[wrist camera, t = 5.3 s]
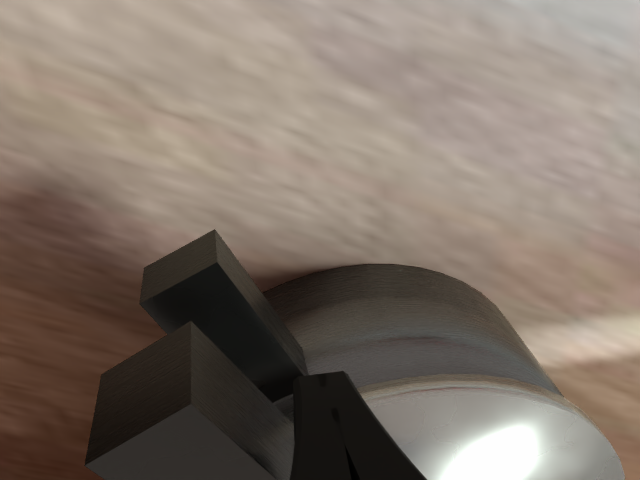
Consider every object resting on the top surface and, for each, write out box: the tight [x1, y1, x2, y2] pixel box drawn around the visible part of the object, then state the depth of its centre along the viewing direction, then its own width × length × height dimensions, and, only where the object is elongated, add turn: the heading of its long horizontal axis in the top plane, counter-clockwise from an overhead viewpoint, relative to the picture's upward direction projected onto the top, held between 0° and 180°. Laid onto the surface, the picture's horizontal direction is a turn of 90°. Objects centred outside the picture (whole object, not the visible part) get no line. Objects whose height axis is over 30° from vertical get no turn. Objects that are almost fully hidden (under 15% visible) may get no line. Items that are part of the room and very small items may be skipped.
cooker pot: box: [140, 229, 564, 415], centre depth 21 cm, size 21×16×6 cm
